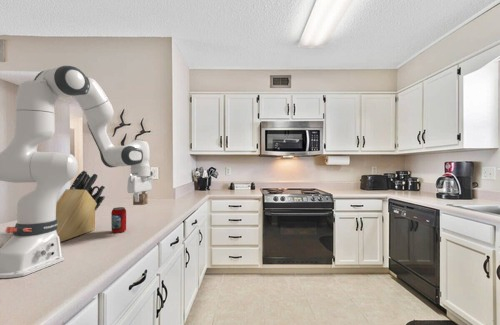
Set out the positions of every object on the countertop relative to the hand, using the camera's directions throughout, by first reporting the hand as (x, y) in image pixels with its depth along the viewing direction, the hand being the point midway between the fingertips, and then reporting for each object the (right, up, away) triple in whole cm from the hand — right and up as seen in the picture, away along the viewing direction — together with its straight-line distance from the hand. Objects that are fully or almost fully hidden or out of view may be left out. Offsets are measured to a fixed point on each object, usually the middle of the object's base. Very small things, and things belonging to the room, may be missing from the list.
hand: (140, 201), depth 140 cm
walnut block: (0, -2, 0) cm, 2 cm away
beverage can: (-12, -16, +3) cm, 20 cm away
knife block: (-32, -16, -1) cm, 36 cm away
